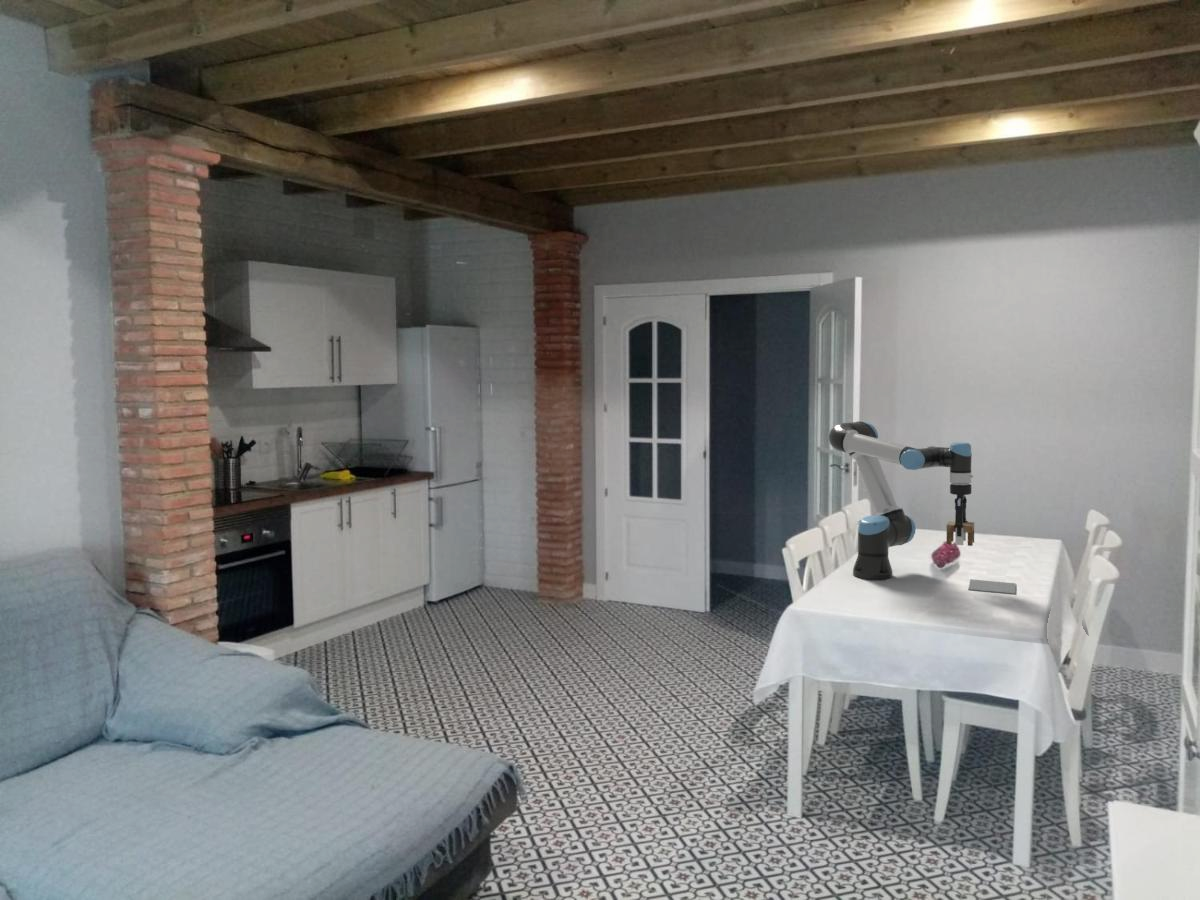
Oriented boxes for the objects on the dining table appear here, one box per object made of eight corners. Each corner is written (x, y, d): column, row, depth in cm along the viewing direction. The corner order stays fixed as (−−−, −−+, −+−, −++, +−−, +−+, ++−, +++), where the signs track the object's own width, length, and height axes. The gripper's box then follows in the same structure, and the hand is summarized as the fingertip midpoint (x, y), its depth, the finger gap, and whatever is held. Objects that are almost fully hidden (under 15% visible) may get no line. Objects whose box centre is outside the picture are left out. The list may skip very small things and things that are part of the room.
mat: (968, 590, 341) (968, 588, 341) (970, 580, 356) (970, 579, 356) (1015, 594, 335) (1015, 593, 335) (1015, 584, 349) (1015, 583, 349)
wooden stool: (946, 544, 345) (946, 524, 345) (949, 540, 353) (949, 521, 353) (972, 545, 341) (972, 525, 341) (974, 541, 349) (974, 522, 349)
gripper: (968, 487, 334) (968, 548, 336) (973, 480, 353) (973, 538, 355) (947, 486, 337) (947, 547, 339) (953, 480, 357) (952, 537, 358)
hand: (960, 542), depth 347 cm, fingers closed on wooden stool, 9 cm apart
